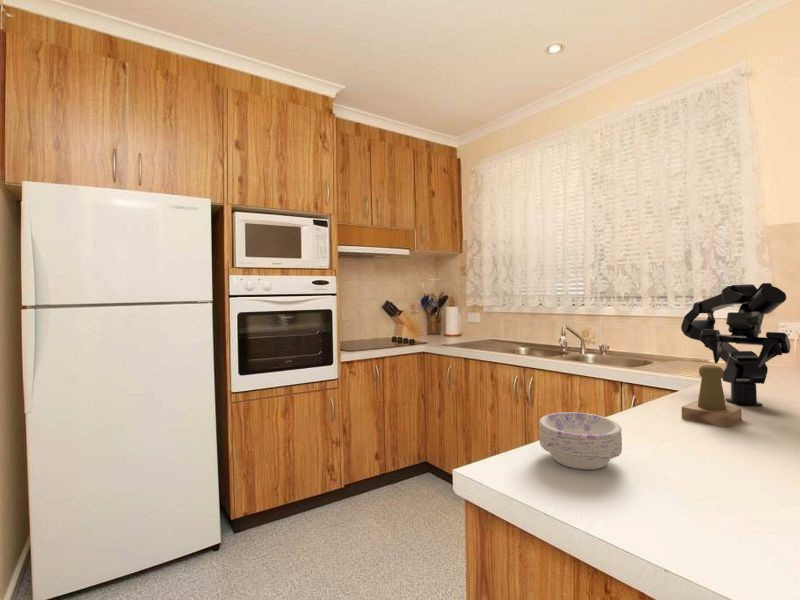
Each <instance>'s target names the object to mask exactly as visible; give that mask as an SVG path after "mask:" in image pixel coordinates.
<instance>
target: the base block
mask: <svg viewBox="0 0 800 600" xmlns="http://www.w3.org/2000/svg"><path fill="white" fill-rule="evenodd" d="M742 411H743V410H742V407H739V406H738V407H737V406H732V405H726V410H721V411H718V410H708V409H703V408H700V407H698V400H695V401H692V402H691V403H688V404H685V405H683V406H681V419H683V420H688V421H693V422H700V423H704V424H709V425H715V426H718V427H724V428H729V427H731V426H733V425H735V424H736V423H739V422H740V421H742V419H743V416H742V415H743V413H742Z"/></svg>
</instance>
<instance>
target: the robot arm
mask: <svg viewBox="0 0 800 600" xmlns="http://www.w3.org/2000/svg"><path fill="white" fill-rule="evenodd" d="M786 300H787V295H786V293H785V292H784V291H783V290H782V289H780V288H779V287H776V286H774V285H773V284H772V283H771V282H763V283H761V284H760V285H759V287H758V288H757V287H756V285H755V284H748V283H747V284H729V285H727V286H726V287H724V288H722V290H721V293H719V294H717V295H714V296H712V297H708V298H706V299H704V300H702V301H701V300H700V301H697V302H694V303H693V306H692V309H691V310H690V311H688V312H687V313H686V314H685V315H684V317H683V320H682V323H681V325H680V328H681V332H682V333H683V335H684V336H686V337H688V338H689V339H692V340H696V341H699V342H701V343H702V344H703V345H704V347H705V348H707V349H709V351H711V352H712V355H713V361H714V364H715V365H716V364H718V363H719V361H720V359H721V360H723V362H725V366H726V367H725V369H723V372H724V375H723V377H722V378H721V380H722V381H723V382H726V383H729V384H730V398H729V397H728V398H725V401H727V402H728V403H732V404H733V405H737V406H754V407H755V406H759V407H760V406H762V407H763V406H764V405H763V403H761V402H758V398H757V395H758V394H757V393H758V392H757V384H760V385H761V384H763V385H764V384H765V382H766V379H767V375H768V370H769V368H768V365H767V364H766V363H767V362H768V361H770V360H772V359H773V358H776V356H782V355H783V354H789V353H790V352H791V346H792V345H791V342H790V340H789V339H790V338H789V336H788V334H787V333H786V332H780V331H779V332H777V331H767V332H765V333H766V334H765V337H764V336H763V337H760V336H759V335H761V333H762V329H761V327H762V323H763V319H764V318H765V315H768V314H771V313H772V312H773V311H775V310H776V309H777V308H778V307H779V306H780V305H782V304H783V303H784V302H785V301H786ZM735 305H740V306H739V309H738V310H737V312H735V311H733V312H731V311H730V312H727V314H726V323H725V324H726V325H728V332H729V333H731V334H721V332H720V330H719V329H715V325H716V319H715V317H714V313H715V312H716V311H718V310H722V309H726V308H728V307H731V306H735ZM700 314H707V316H708V317H707V318H706V319H696V318H697V317H699V315H700ZM731 343H732V344H736V345H745V346H747V345H748V346H761V347H762V348H761V351H760V353H759V355H757V353H756V352H754V351H752V350H739V349H737V348H736V347H734V345H732V344H731Z"/></svg>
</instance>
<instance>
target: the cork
mask: <svg viewBox="0 0 800 600" xmlns="http://www.w3.org/2000/svg"><path fill="white" fill-rule="evenodd" d="M698 368H699V369H698V373H699V376H700V378H701V380H700V386H699V394H698V400H697V401H698V407H700V408H703V409H708V410H718V411H721V410H726V406H727V405H726V400H725V399H726V398H725V394H724V388H723V382H722V377H723V375H724V372H723V371H724V369H723V367H721V366H718V365H716V364H715V365H713V364H705V365H701V366H700V367H698Z"/></svg>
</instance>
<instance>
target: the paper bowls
mask: <svg viewBox="0 0 800 600" xmlns="http://www.w3.org/2000/svg"><path fill="white" fill-rule="evenodd" d="M538 425H539V427H538V428H539V433H538V435H539V445H540V447H541V448H542V449H543V450H544V451H546V452H548V453H549V454H550V455H551V458H552V459H553V460H554V461H556V463H558V464H560V465H563V466H564V467H567V468H571V469H574V470H575V469H576V470H585V471H587V470H588V471H590V470H591V471H592V470H599V469H602V468H604V467H606V466H607V465H608V464H610V463H609V462H610V461H611V459H614V458H617V457H619V456H620V455H621V454H622V451H623V442H622V440H623V437H622V426H620V424H619V423H618V422H616V421H615V420H613V419H611V418H609V417H605V416H601V415H597V414H593V413H585V412H573V411H570V412H568V411H565V412H561V411H560V412H554V413H553V412H552V413H547V414H545V415H543V416H542V417H541V418H540V419H539V421H538Z"/></svg>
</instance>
